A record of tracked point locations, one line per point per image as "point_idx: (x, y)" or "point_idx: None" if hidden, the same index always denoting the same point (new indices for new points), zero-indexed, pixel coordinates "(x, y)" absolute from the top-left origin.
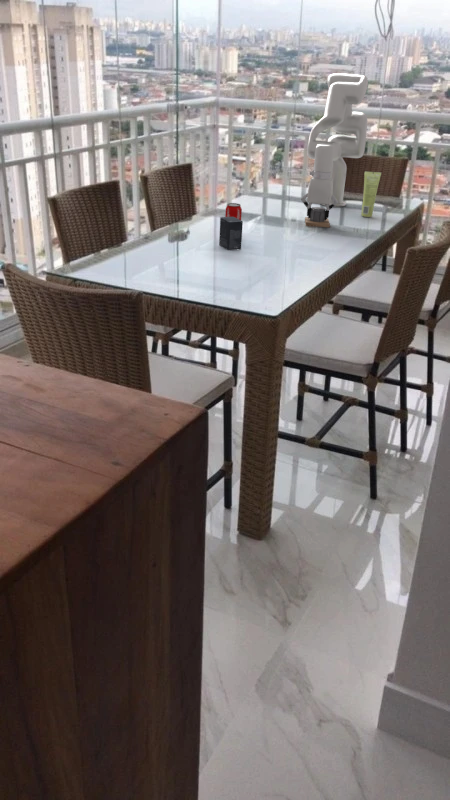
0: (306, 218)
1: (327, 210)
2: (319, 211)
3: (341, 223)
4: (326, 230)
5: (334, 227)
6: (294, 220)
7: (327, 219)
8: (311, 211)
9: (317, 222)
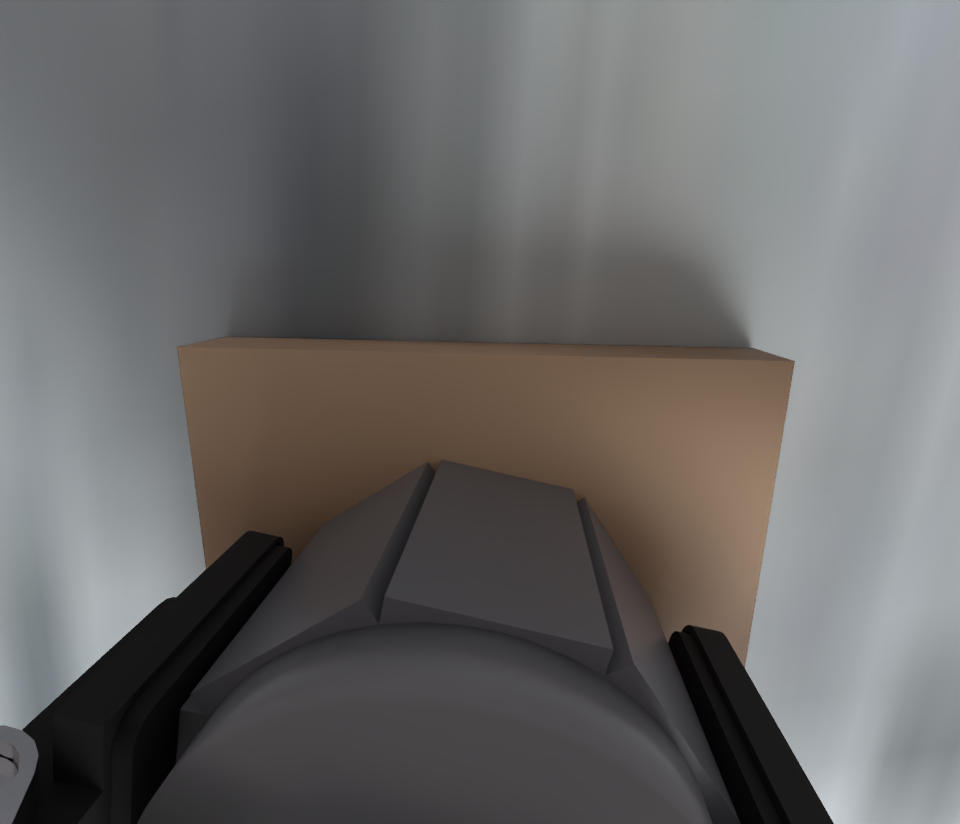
0: None
1: (26, 743)
2: (398, 650)
3: (32, 693)
4: (283, 6)
5: (123, 365)
6: (902, 768)
7: None
8: (714, 778)
9: (480, 426)
